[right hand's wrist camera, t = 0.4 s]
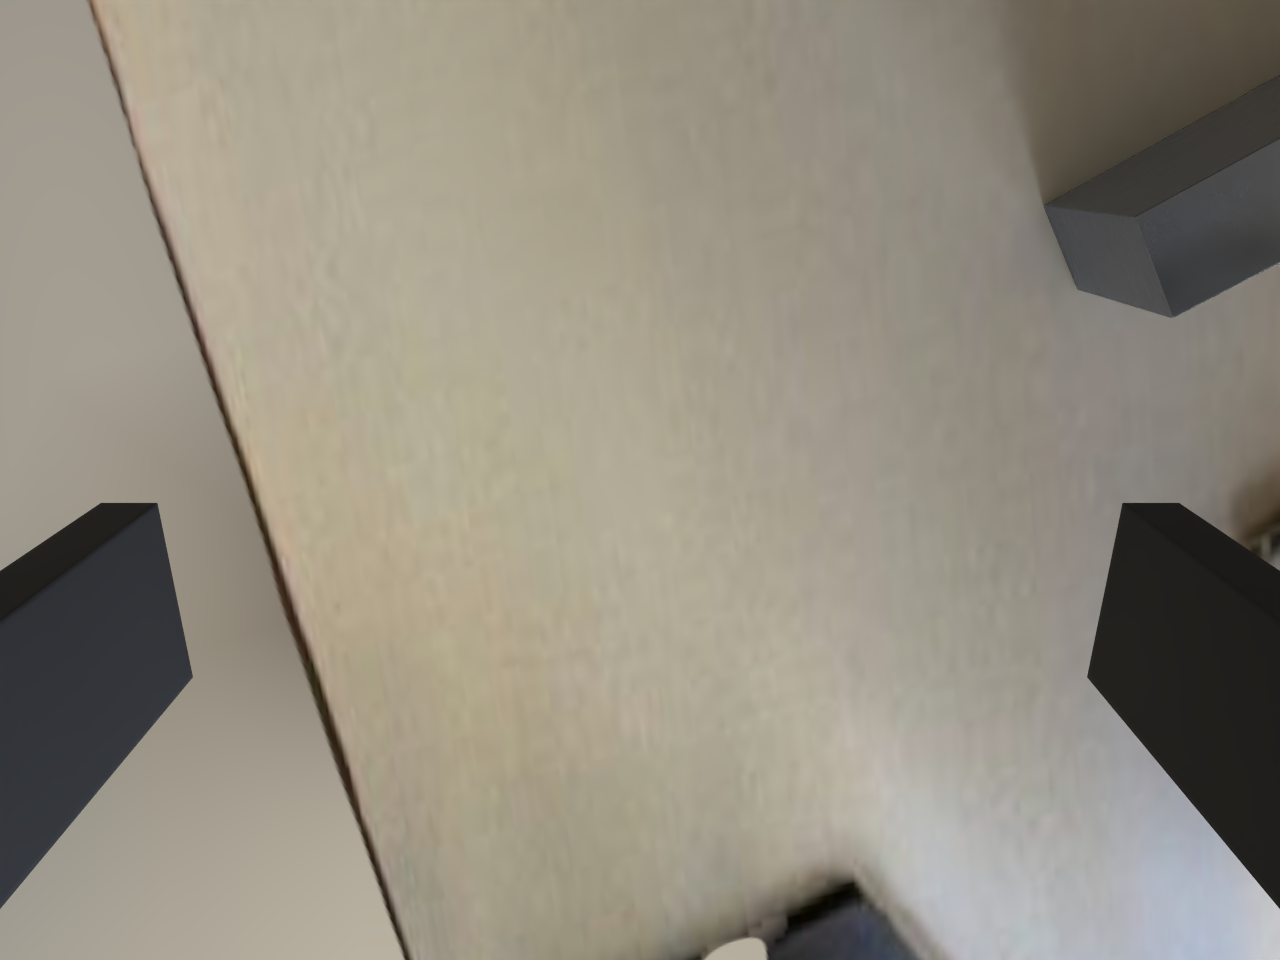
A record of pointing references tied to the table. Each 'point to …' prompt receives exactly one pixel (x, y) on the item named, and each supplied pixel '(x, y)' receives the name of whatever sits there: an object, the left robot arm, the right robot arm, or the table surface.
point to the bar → (1181, 212)
